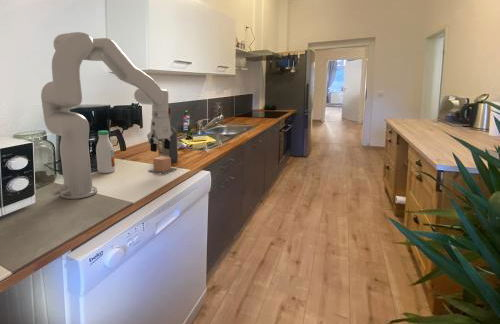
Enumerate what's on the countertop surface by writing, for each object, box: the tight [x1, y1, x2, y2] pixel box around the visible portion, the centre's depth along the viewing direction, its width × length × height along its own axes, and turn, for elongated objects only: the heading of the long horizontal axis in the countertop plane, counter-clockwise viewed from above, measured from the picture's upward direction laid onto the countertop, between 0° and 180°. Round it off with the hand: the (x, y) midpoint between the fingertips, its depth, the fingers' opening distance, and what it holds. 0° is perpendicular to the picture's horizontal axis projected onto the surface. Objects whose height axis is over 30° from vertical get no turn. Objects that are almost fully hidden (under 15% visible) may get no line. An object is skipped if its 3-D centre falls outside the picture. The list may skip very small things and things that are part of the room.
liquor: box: [157, 107, 179, 164], centre depth 171 cm, size 9×9×30 cm
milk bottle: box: [95, 130, 116, 174], centre depth 148 cm, size 8×8×20 cm
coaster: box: [147, 167, 177, 175], centre depth 155 cm, size 10×10×1 cm
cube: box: [152, 156, 172, 172], centre depth 154 cm, size 6×6×6 cm
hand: (160, 150), depth 152 cm, fingers open, 9 cm apart
